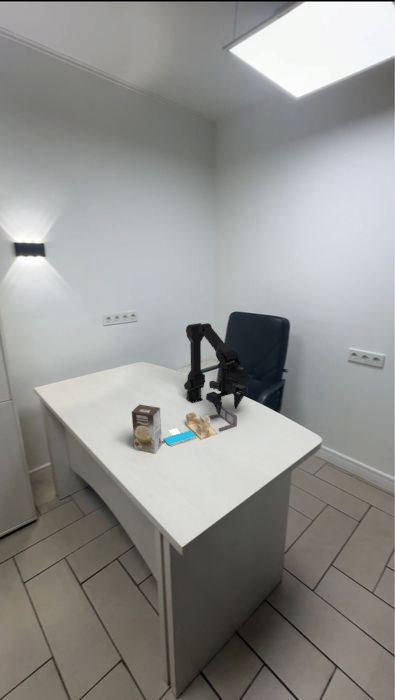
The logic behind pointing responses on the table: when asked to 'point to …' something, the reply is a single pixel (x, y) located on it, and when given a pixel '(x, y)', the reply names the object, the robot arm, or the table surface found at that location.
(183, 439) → the blue flat piece
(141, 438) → the coffee box
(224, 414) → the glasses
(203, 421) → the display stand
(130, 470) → the table surface
